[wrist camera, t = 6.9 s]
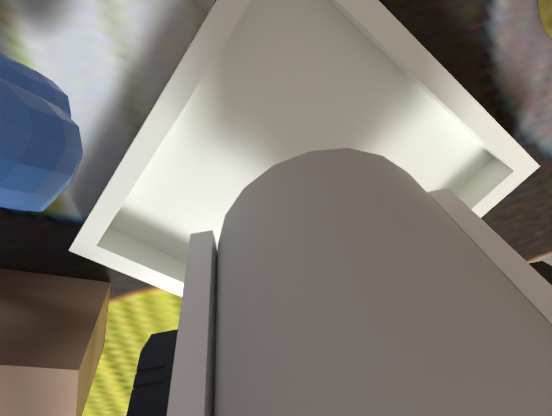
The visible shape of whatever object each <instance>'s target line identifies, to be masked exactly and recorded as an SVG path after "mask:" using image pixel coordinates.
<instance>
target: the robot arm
mask: <svg viewBox="0 0 552 416" xmlns="http://www.w3.org/2000/svg"><path fill="white" fill-rule="evenodd" d="M427 193H428V194H429V195H430V196H431V197H432V198H433V200H434V201H435V202H436V203H437V204H438V205H439V206H440V207H441V208H442V209H443V210H444V211H445V212H446V213H447V214H448V216H449V217H450V218H451V219H452V220H453V221H454V222H455V223H456V224H457V225H458V226H459V227H460V228H461V229H462V231H463V232H464V233H465V234H466V235H467V236H468V237H469V238H470V239H471V240H472V241H473V242H474V243H475V244H476V245H477V247H478V248H479V249H480V250H481V251H482V252H483V253H484V254H485V255H486V256H487V257H488V258H489V259H490V260H491V262H492V263H493V264H494V265H495V266H496V267H497V268H498V269H499V270H500V271H501V272H502V273H503V274H504V275H505V276H506V278H507V279H508V280H509V281H510V282H511V283H512V284H513V285H514V286H515V287H516V288H517V289H518V290H519V291H520V293H521V294H522V295H523V296H524V297H525V298H526V299H527V300H528V301H529V302H530V303H531V304H532V305H533V306H534V308H535V309H536V310H537V311H538V312H539V313H540V314H541V315H542V316H543V317H544V318H545V319H546V320H547V321H548V322H549V324H550V325H551V326H552V266H551V265H549V264H547V263H545V262H543V261H540V262H534V263H529V264H528V263H527V262H526V261H525V260H524V259H523V258H522V257H521V256H520V255H519V254H518V253H517V252H516V251H515V250H514V249H512V248H511V247H510V246H509V245H508V244H507V243H506V242H505V241H504V240H503V239H502V238H501V237H500V236H499V235H498V234H497V233H495V232H494V231H493V230H492V229H491V228H490V227H489V226H488V225H487V224H486V223H485V222H484V221H483V220H482V219H481V218H480V217H479V216H477V215H476V214H475V213H474V212H473V211H472V210H471V209H470V208H469V207H468V206H467V205H466V204H465V203H464V202H463V201H462V200H461V199H459V198H458V197H457V196H456V195H455V194H454V193H453V192H452V191H451V190H450V189H449V188H447V189H441V190H435V191H430V192H427ZM217 264H218V247H217V244H216V240H215V237H214V233H213V230H210V231H204V232H199V233H193V234H190V242H189V249H188V257H187V264H186V272H185V280H184V287H183V295H182V303H181V310H180V318H179V325H178V330H172V331H167V332H161V333H156V334H152V335H151V336H150V338H149V339H148V341H147V343H146V344H145V346H144V347H143V349H142V351H141V353H140V357H139V362H138V366H137V374H136V375H135V380H134V384H133V390H132V393H131V398H130V402H129V407H128V411H127V416H214V384H215V344H216V304H217Z"/></svg>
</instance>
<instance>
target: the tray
mask: <svg viewBox="0 0 552 416" xmlns="http://www.w3.org/2000/svg"><path fill="white" fill-rule="evenodd" d="M341 148H351V149H356V150H360V151H364V152H368V153H373V154H377V155H381V156H384V157H385V158H387V159H388V160H390V161H391V162H393V163H394V164H396V165H397V166H399V167H400V168H402V169H403V170H405V171H406V172H408V173H409V174H410V175H411V176H412V177H413V178H414V179H415V180H416V181H417V182H418V183H419V185H420V186H421V187H422V188H423V189H424V190H425V191H426V192H430V191H435V190H441V189H447V188H449V189H450V190H451V191H452V192H453V193H454V194H455V195H456V196H457V197H458V198H459V199H461V200H462V201H463V202H464V203H465V204H466V205H467V206H468V207H469V208H470V209H471V210H472V211H473V212H474V213H475V214H476V215H477V216H479V217H480V218H481V217H482V216H484V215H485V214H486V213H487V212H488V211H489V210H490V209H492V208H493V207H494V206H495V205H496V204H497V203H498V202H500V201H501V200H502V199H503V198H504V197H505V196H507V195H508V194H509V193H510V192H511V191H512V190H513V189H515V188H516V187H517V186H518V185H519V184H520V183H522V182H523V181H524V180H525V179H526V178H527V177H528V176H530V175H531V174H532V173H533V172H534V171H535V170H536V169H538V168H539V167H540V166H539V165H538V164H537V163H536V162H535V161H534V160H533V159H532V158H531V157H530V155H529V154H528V153H527V152H526V151H525V150H524V149H523V148H522V147H521V146H520V145H519V144H518V143H517V142H516V141H515V140H514V139H513V138H512V137H511V136H510V135H509V134H508V133H507V132H506V131H505V130H504V129H503V128H502V127H501V126H500V125H499V124H498V123H497V122H496V121H495V119H494V118H493V117H492V116H491V115H490V114H489V113H488V112H487V111H486V110H485V109H484V108H483V107H482V106H481V105H480V104H479V103H478V102H477V101H476V100H475V99H474V98H473V97H472V96H471V95H470V94H469V93H468V92H467V91H466V90H465V89H464V88H463V87H462V86H461V85H460V83H459V82H458V81H457V80H456V79H455V78H454V77H453V76H452V75H451V74H450V73H449V72H448V71H447V70H446V69H445V68H444V67H443V66H442V65H441V64H440V63H439V62H438V61H437V60H436V59H435V58H434V57H433V56H432V55H431V54H430V53H429V52H428V51H427V50H426V49H425V48H424V46H423V45H422V44H421V43H420V42H419V41H418V40H417V39H416V38H415V37H414V36H413V35H412V34H411V33H410V32H409V31H408V30H407V29H406V28H405V27H404V26H403V25H402V24H401V23H400V22H399V21H398V20H397V19H396V18H395V17H394V16H393V15H392V14H391V13H390V12H389V10H388V9H387V8H386V7H385V6H384V5H383V4H382V3H381V2H380V1H379V0H216V2H215V3H214V5H213V7H212V8H211V10H210V12H209V13H208V15H207V17H206V19H205V20H204V22H203V24H202V25H201V27H200V29H199V30H198V32H197V34H196V35H195V37H194V39H193V40H192V42H191V44H190V45H189V47H188V49H187V50H186V52H185V54H184V56H183V57H182V59H181V61H180V62H179V64H178V66H177V67H176V69H175V71H174V72H173V74H172V76H171V77H170V79H169V81H168V82H167V84H166V86H165V87H164V89H163V91H162V93H161V94H160V96H159V98H158V99H157V101H156V103H155V104H154V106H153V108H152V109H151V111H150V113H149V114H148V116H147V118H146V119H145V121H144V123H143V124H142V126H141V128H140V130H139V131H138V133H137V135H136V136H135V138H134V140H133V141H132V143H131V145H130V146H129V148H128V150H127V151H126V153H125V155H124V156H123V158H122V160H121V161H120V163H119V165H118V166H117V168H116V170H115V172H114V173H113V175H112V177H111V178H110V180H109V182H108V183H107V185H106V187H105V188H104V190H103V192H102V193H101V195H100V197H99V198H98V200H97V202H96V203H95V205H94V207H93V209H92V210H91V212H90V214H89V215H88V217H87V219H86V220H85V222H84V224H83V226H82V227H81V229H80V231H79V233H78V234H77V236H76V238H75V240H74V241H73V243H72V245H71V247H70V249H69V250H68V251H70V252H73V253H75V254H78V255H80V256H82V257H85V258H87V259H90V260H92V261H95V262H97V263H100V264H102V265H105V266H107V267H110V268H112V269H114V270H117V271H119V272H122V273H124V274H127V275H129V276H132V277H134V278H137V279H139V280H141V281H144V282H146V283H149V284H151V285H154V286H156V287H159V288H161V289H164V290H166V291H168V292H171V293H173V294H176V295H178V296H181V297H182V295H183V287H184V280H185V272H186V264H187V257H188V249H189V242H190V234H193V233H199V232H204V231H210V230H213V233H214V237H215V240H216V244H217V247H218V242H219V238H220V234H221V230H222V226H223V222H224V218H225V215H226V213H227V212H228V210H229V209H230V208H231V206H232V205H233V203H234V202H235V200H236V199H237V197H238V196H239V194H240V193H241V192H242V190H243V189H244V187H246V186H247V185H248V184H250V183H251V182H252V181H254V180H255V179H256V178H257V177H259V176H260V175H261V174H263V173H264V172H265V171H267V170H268V169H269V168H271V167H272V166H273V165H275V164H278V163H280V162H283V161H286V160H288V159H291V158H293V157H296V156H299V155H301V154H304V153H306V152H309V151H316V150H329V149H341Z"/></svg>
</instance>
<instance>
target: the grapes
mask: <svg viewBox="0 0 552 416" xmlns="http://www.w3.org/2000/svg"><path fill="white" fill-rule="evenodd" d="M82 153H83V149H82V143H81V138H80V132H79V127H78V126H77V125H76V124H75V123H74V122H73V121H72V120H71V112H70V106H69V100H68V96H67V95H66V94H65V93H64V92H63V91H62V90H61V89H60V88H59V87H58V86H57V85H56V84H55V83H54V82H53V81H51V80H50V79H48V78H46V77H45V76H43V75H42V74H40V73H39V72H37V71H35V70H33V69H31V68H29V67H27V66H25V65H23V64H21V63H19V62H17V61H15V60H13V59H11V58H9V57H6V56H4V55H2V54H0V207H3V208H10V209H17V210H24V211H41V212H42V211H43V210H45V209H46V208H47V207H48V206H49V205H50V204H51V203H52V202H53V201H55V199H56V198H57V197H58V196H59V195H60V194H61V193H62V192H63V191H64V189H65V188H66V187H67V186H68V185H69V184H70V183H71V182H72V179H73V177H74V175H75V172H76V170H77V168H78V166H79V163H80V161H81V159H82Z"/></svg>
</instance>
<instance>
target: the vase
mask: <svg viewBox="0 0 552 416" xmlns="http://www.w3.org/2000/svg"><path fill="white" fill-rule="evenodd" d="M538 8H539V14H540V18H541V22H542V25H543V27H544V29H545V31H546V32H547V34H548V35H549V36H550V37H551V38H552V0H538Z"/></svg>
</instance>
